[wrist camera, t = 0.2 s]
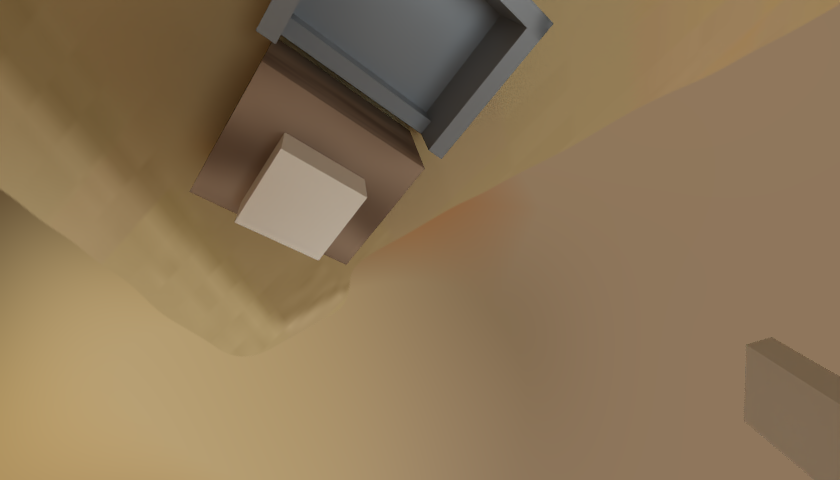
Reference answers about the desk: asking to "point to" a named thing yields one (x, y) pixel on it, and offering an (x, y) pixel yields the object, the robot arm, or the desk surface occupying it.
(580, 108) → the desk surface
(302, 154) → the cream tile
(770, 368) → the robot arm
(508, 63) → the box
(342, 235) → the brown block
